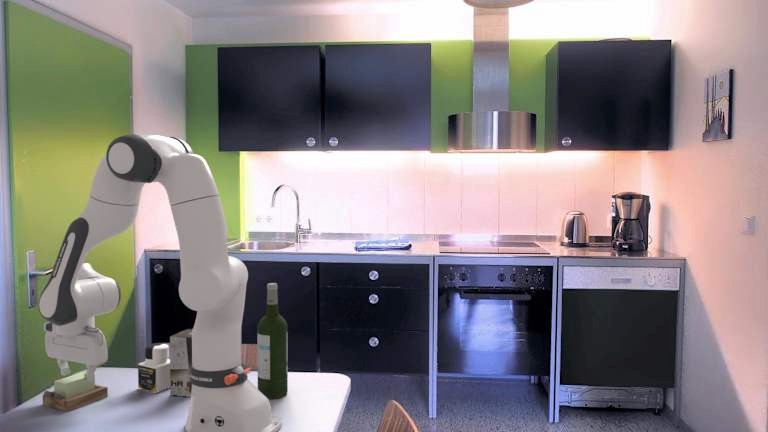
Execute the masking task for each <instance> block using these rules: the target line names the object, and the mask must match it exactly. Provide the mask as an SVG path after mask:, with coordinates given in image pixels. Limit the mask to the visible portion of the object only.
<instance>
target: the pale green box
mask: <svg viewBox="0 0 768 432" xmlns="http://www.w3.org/2000/svg"><path fill="white" fill-rule="evenodd" d="M85 373H87V371H86V372H85V371H81V372H79V373H75V374H73V375H68V376H67V377H66V376H65V377H63V378H60V379H56V380H54V381H53V382H54V383H53V385H54V391H55V394H56V393H57V394H61V395H64V396H65V397H64V399H65V400H67V399H70V398H73V397H75V396H78V395H81V394H84V393H87V392H90V391H92V390H95V385H96V379H95V378H96V376H95V375H96V374H95V373H94V379H93V380H91V381H87V380H85V379H84V374H85Z"/></svg>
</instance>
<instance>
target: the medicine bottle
mask: <svg viewBox="0 0 768 432" xmlns="http://www.w3.org/2000/svg"><path fill="white" fill-rule="evenodd" d="M144 350H145V351H144V352H145V353H144V356H145V357H144V359H145V361H143V362H140V363H138V364H137V376H138V377H137V380H138V381H137V382H138V383H137V384H138V385H137V386H138V389H139V388H140V389H139V390H142V389H145V390H148V391H147V392H149V391H152V392H151V393H153V392H157V393H159V392H158V391H160V392H162V391H164V390H163V389H165V388H168V387H170V345H168V344H167V343H165V342H155V343H151V344H149V345H147V346H145V348H144ZM168 389H169V388H168ZM145 390H144V391H145ZM161 390H162V391H161ZM165 390H166V389H165Z"/></svg>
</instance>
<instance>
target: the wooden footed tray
mask: <svg viewBox="0 0 768 432" xmlns="http://www.w3.org/2000/svg"><path fill="white" fill-rule="evenodd" d="M108 389H109V388H108V387H107V386H103V385H98V384H95V390H92V391H90V392H87V393H84V394H81V395H78V396H75V397H73V398H70V399H67V400H65V399H64V397H65V396H64V395H61V394H57V393H56V394H55V391H50V390H45V391H44V392H43V394H42V405H43V406H46V407H51V408H54V409H57V410H62V411H64V412H70V411H73V410H75V409H79V408H82V407H84V406H86V405H90V404H92V403H94V402H97V401H100V400H102V399H105V398H108V395H109V393H108V392H109V390H108Z"/></svg>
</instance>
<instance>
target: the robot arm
mask: <svg viewBox="0 0 768 432" xmlns="http://www.w3.org/2000/svg"><path fill="white" fill-rule="evenodd" d="M97 165H98V166H97V168H96V171H95V172H94V173H95V174H94V175H93V178H92V179H93V180H92V183H91V187H90V191H89V195H88V200H87V202H86V204H85V207H84V209H83V210H82V212H81V213H80V214H79V216H78V217H77V218H76V219H74V220H73V221H72V222H71V223H70V225H68V228H67V229H66V232H65V235H64V237H63V240H62V243H61V246H60V247H59V251H58V253H57V257H56V260H55V261H54V262H55V263H54V265H53V268H52V270H51V273H50V275H49V278H48V281H47V282H46V284H45V286H44V288H43V290H42V292H41V293H40V295H39V299H38V304H37V305H38V311H39V313H40V316H42V318H44V320H45V321H47V322H45V323H44V324H43V330H44V332H45V334H44V344H45V345H44V346H45V347H44V348H45V352H46V354H47V356H48V357H49V358H51V359H56V362H57V365H58V367H59V369H60V375H61V376H64V377H66V376H67V377H68V376H71V373H72V371H71V370H72V367H70V366H69V364H68V361H69V362H74V363H78V364H83V365H86V366H85V368H86V369H87V370H86V373H85V374H84V379H85V380H87V381H91V380H93V379H94V374H95V372H96V370H97V368H98V366H99V365H103V364H105V363H106V362H107V361H108V359H109V353H108V352H109V351H108V345H107V340H106V337H105V335H104V333H103V332H102V331H101V329H100V328H98V327H96V323H95V317H96V316H102V315H106V314H109V313H111V312H114V311H115V310H116V309H117V308H118V307H119V305H120V303H121V301H122V289H121V286H120V285H119V283H118V281H116V280H115V279H114V278H112V277H111V276H105V275H103V274H101V273H99V272H97V271H96V270H94V268H93V267H92V265H91V264H90V263H89V262H84V261H85V258H86V257H87V255H88V254H89V252H90V251H92V249H93V248H95V247H96V246H98V245H99V244H102V243H104V242H105V241H106V240H110V239H111V238H113V237H117V236H119V235H120V234H123V233H124V232H126V231H127V230H129V228H131V227H132V226H133V224H134V222H135V220H136V219H137V215H138V213H139V207H140V202H141V196H142V191H143V188H144V186H145V185H146V184H152V183H159V184H160V185H162V186H163V188H164V189H165V191H166V194H167V198H168V203H169V206H170V211H171V214H172V218H173V221H174V227H175V230H176V234H177V239H178V245H179V259H180V262H179V263H180V281H179V285H178V295H179V298H180V300H181V301H182V304H184V305H185V306H186V307H187V308H188V309H190V310H192V311H196V318H195V320H194V321H195V322H194V324H193V328H192V329H193V330H192V365H191V367H190V382H191V383H192V390H191V397H189V398H190V400H189V406H188V415H187V419H186V422H185V425H184V429H185V432H277V431H279V430H280V429H281V427H282V423H283V421H282V419H281V418H279V417H278V416H277V417H276V416H274V415H273V414H272V408H271V403H270V399H268V398H267V397H266V396H264V395H263V394H262V393H261V392H260V391H259V390H258V387H257V386H256V385H254V384H253V382H251V381H250V380H249V379H248V378H249V377H248V374H250V373H251V367H247V368H246V367H245V365H244V363H243V361H242V325H243V318H244V312H245V301H246V295H247V294H246V291H247V283H248V280H249V279H248V278H249V272H248V268H247V266H246V264H245V263H244V262H243V261H242V260H241V259H239V258H237V257H235V256H231V255H229V252H228V251H229V250H228V239H227V238H228V225H227V224H228V223H227V220H226V217H225V216H226V215H225V213H224V208H223V205H222V202H221V196H220V193H219V190H218V187H217V184H216V181H215V178H214V175H213V173H212V171H211V168H210V167H209V165H208V162H207V161H206V159H205V158H204V157H203V156H201V155H199V154H195V153H194V151H193V149H192V147H191V146H190V145H189V144H188V143H187V142H186V141H184V140H183V139H180V138H178V137H174V136H163V135H157V134H152V133H151V134H150V133H149V134H148V133H144V134H142V133H141V134H136V133H135V134H134V133H130V134H129V133H128V134H125V135H121V136H118V137H116V138H114V139H113V140H112V141H111V142H110V143H109V144H108V146H107V149H106V154H105V155H104V156H103V157H102V158H101V159H100V161H99V164H97Z"/></svg>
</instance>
